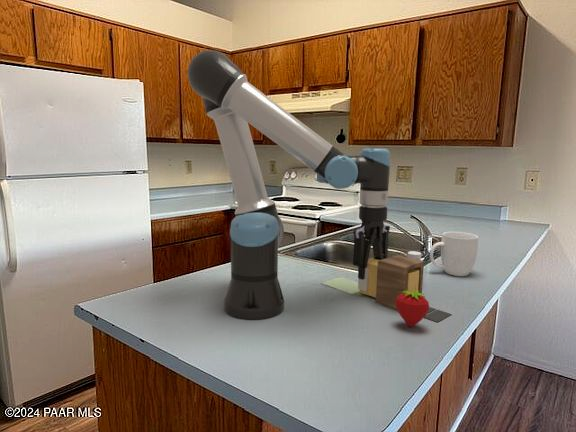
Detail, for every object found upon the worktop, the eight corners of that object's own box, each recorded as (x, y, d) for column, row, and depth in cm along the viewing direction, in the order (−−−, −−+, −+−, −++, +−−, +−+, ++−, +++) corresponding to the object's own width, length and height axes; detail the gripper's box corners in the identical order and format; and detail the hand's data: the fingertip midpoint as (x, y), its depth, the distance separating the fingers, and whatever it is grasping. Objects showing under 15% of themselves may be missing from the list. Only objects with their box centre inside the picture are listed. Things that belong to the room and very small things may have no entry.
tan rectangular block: (406, 308, 101) (408, 274, 100) (359, 292, 112) (360, 261, 111) (417, 303, 105) (419, 270, 103) (370, 288, 116) (371, 258, 114)
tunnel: (402, 312, 100) (404, 267, 98) (375, 302, 106) (377, 260, 104) (421, 303, 106) (424, 261, 104) (395, 295, 112) (397, 255, 110)
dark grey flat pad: (437, 322, 94) (437, 321, 94) (407, 312, 100) (407, 311, 100) (451, 314, 99) (451, 314, 99) (421, 305, 105) (421, 304, 105)
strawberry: (397, 318, 96) (400, 278, 95) (430, 325, 93) (433, 284, 91) (390, 327, 91) (393, 285, 90) (424, 335, 88) (427, 291, 86)
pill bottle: (409, 279, 125) (411, 249, 124) (425, 284, 122) (427, 252, 120) (400, 283, 122) (402, 252, 120) (416, 288, 118) (418, 256, 116)
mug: (435, 278, 127) (438, 238, 125) (422, 268, 138) (425, 231, 136) (481, 278, 127) (485, 238, 125) (465, 268, 138) (468, 231, 136)
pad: (352, 294, 112) (352, 293, 112) (320, 283, 121) (320, 282, 121) (371, 287, 118) (371, 286, 118) (340, 277, 127) (340, 277, 127)
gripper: (363, 210, 100) (359, 298, 104) (404, 204, 112) (399, 283, 116) (340, 206, 106) (337, 291, 109) (381, 201, 118) (377, 277, 121)
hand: (369, 287), depth 113 cm, fingers open, 5 cm apart
